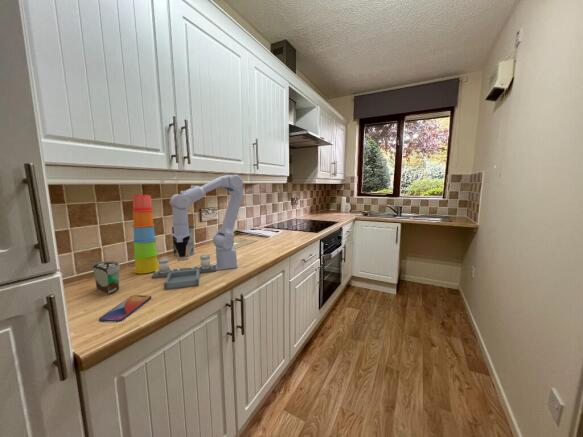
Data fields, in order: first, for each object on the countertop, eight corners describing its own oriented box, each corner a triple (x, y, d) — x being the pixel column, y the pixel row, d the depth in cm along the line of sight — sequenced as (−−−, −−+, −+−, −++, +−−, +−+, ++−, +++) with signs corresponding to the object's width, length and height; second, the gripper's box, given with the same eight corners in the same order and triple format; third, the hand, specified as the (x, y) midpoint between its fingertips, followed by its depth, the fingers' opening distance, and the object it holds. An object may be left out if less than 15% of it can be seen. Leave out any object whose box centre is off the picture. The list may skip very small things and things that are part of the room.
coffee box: (173, 256, 133) (171, 227, 131) (181, 252, 139) (179, 225, 137) (187, 257, 130) (185, 228, 128) (195, 254, 137) (193, 225, 134)
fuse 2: (210, 266, 115) (209, 254, 114) (210, 269, 111) (209, 256, 110) (201, 267, 113) (200, 255, 112) (200, 270, 110) (200, 257, 109)
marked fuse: (188, 257, 105) (187, 244, 104) (187, 260, 102) (186, 246, 101) (178, 258, 104) (177, 244, 103) (177, 261, 100) (176, 247, 100)
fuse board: (215, 266, 117) (215, 262, 117) (216, 271, 110) (215, 267, 110) (155, 272, 109) (154, 268, 108) (151, 278, 102) (151, 274, 102)
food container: (129, 289, 92) (126, 264, 90) (110, 296, 87) (107, 269, 85) (113, 282, 98) (110, 258, 96) (95, 288, 93) (91, 263, 91)
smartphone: (97, 322, 71) (96, 319, 71) (132, 297, 86) (132, 295, 86) (121, 323, 71) (121, 320, 71) (152, 298, 86) (152, 295, 86)
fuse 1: (170, 270, 109) (169, 257, 108) (169, 273, 105) (168, 260, 105) (160, 271, 108) (159, 258, 107) (158, 274, 104) (157, 261, 103)
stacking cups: (128, 272, 109) (120, 195, 104) (150, 265, 118) (144, 194, 113) (143, 276, 105) (135, 195, 100) (164, 268, 114) (158, 194, 109)
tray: (199, 274, 107) (199, 269, 106) (198, 285, 95) (198, 279, 95) (169, 277, 103) (168, 272, 103) (164, 289, 92) (164, 283, 91)
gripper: (172, 221, 106) (175, 251, 108) (167, 226, 93) (169, 261, 95) (190, 220, 108) (192, 249, 110) (187, 225, 95) (189, 259, 97)
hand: (182, 254), depth 103 cm, fingers closed on marked fuse, 4 cm apart
